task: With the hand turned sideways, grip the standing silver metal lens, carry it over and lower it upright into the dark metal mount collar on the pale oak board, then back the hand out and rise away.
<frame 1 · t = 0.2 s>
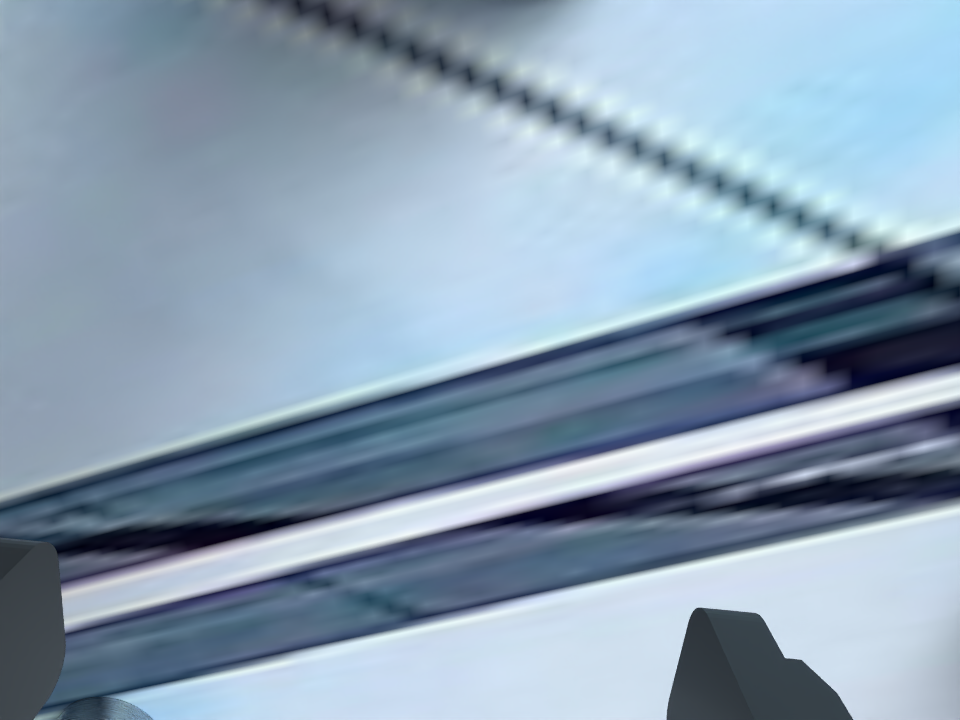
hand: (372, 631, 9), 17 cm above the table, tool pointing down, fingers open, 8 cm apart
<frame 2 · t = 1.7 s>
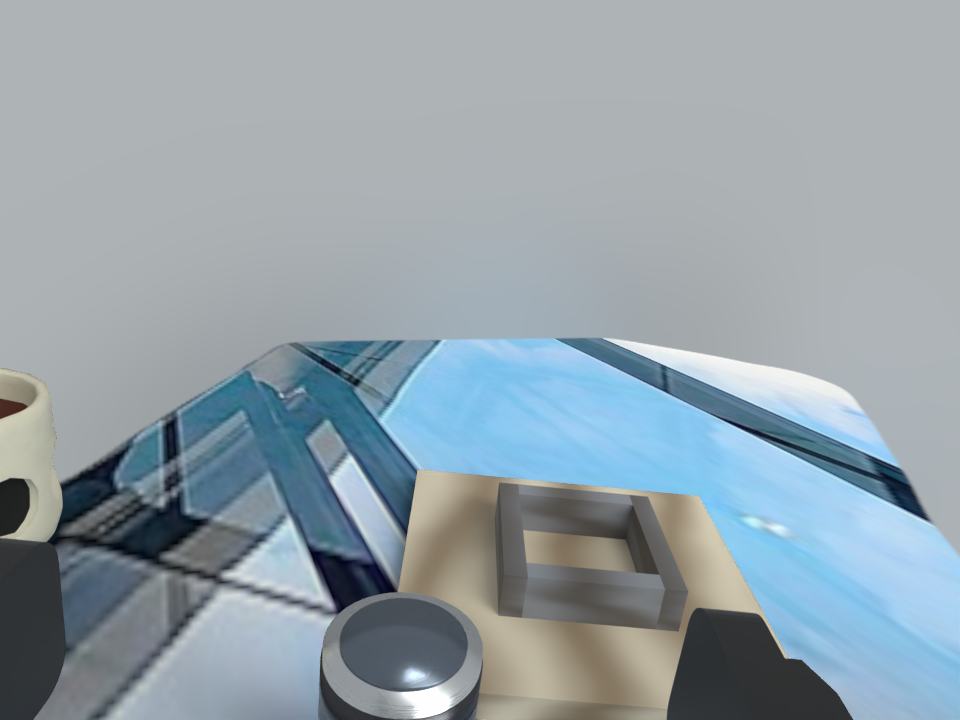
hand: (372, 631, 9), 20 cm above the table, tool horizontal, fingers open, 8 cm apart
mount board: (573, 590, 43), on the table
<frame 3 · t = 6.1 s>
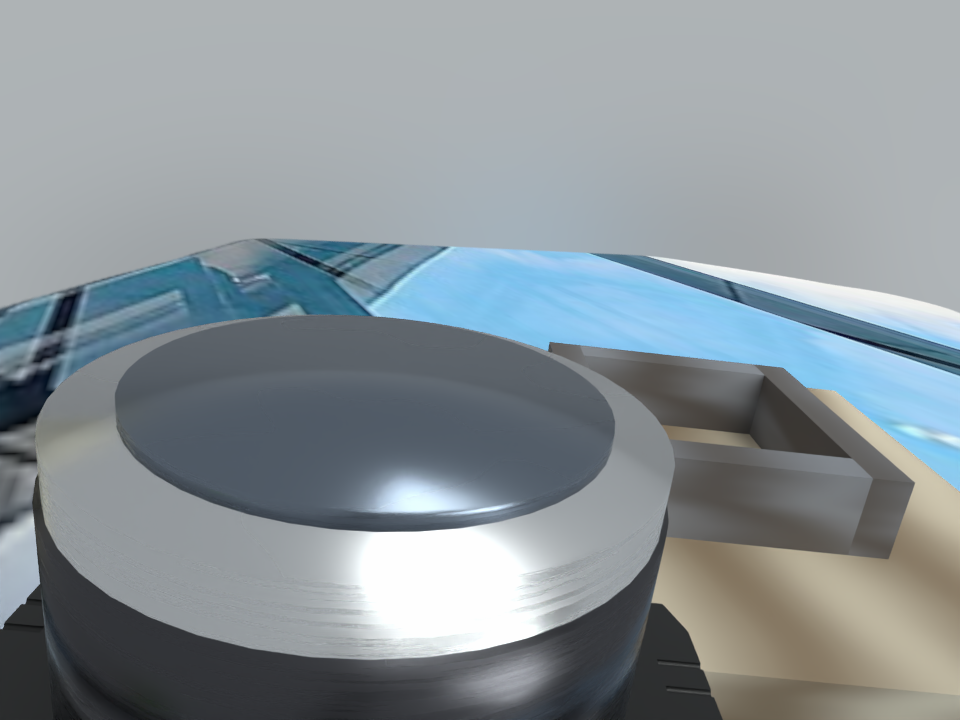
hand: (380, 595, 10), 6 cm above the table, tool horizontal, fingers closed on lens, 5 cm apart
mount board: (676, 504, 26), on the table
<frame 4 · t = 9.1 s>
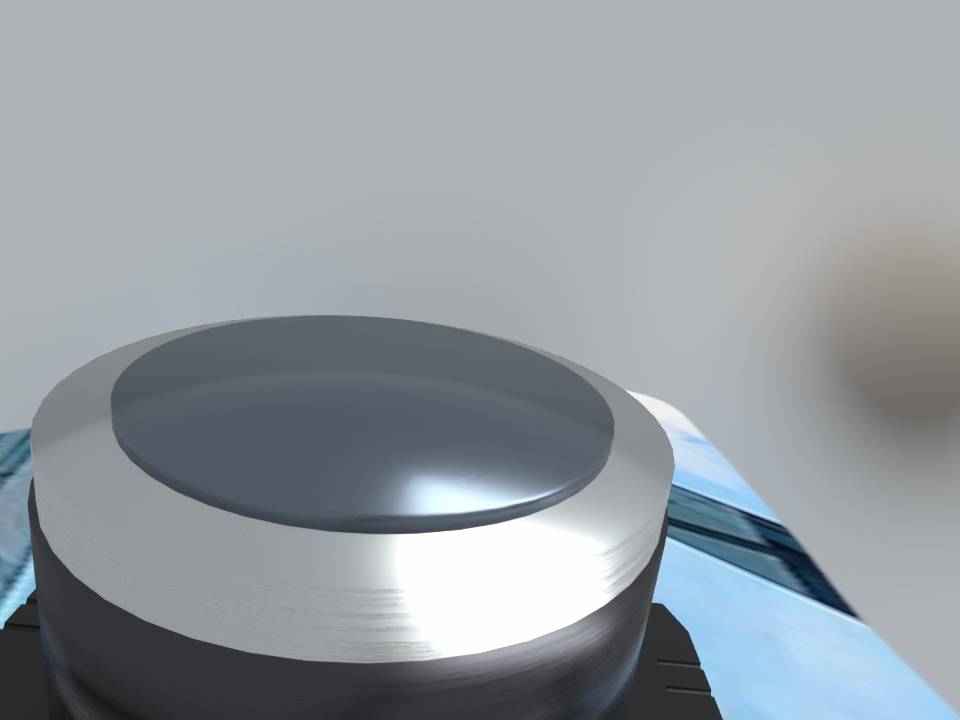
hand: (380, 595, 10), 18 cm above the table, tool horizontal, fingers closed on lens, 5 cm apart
when the fingers open (9 cm above the table, at t = 12.2 s): lens drops 1 cm, resting on mount board.
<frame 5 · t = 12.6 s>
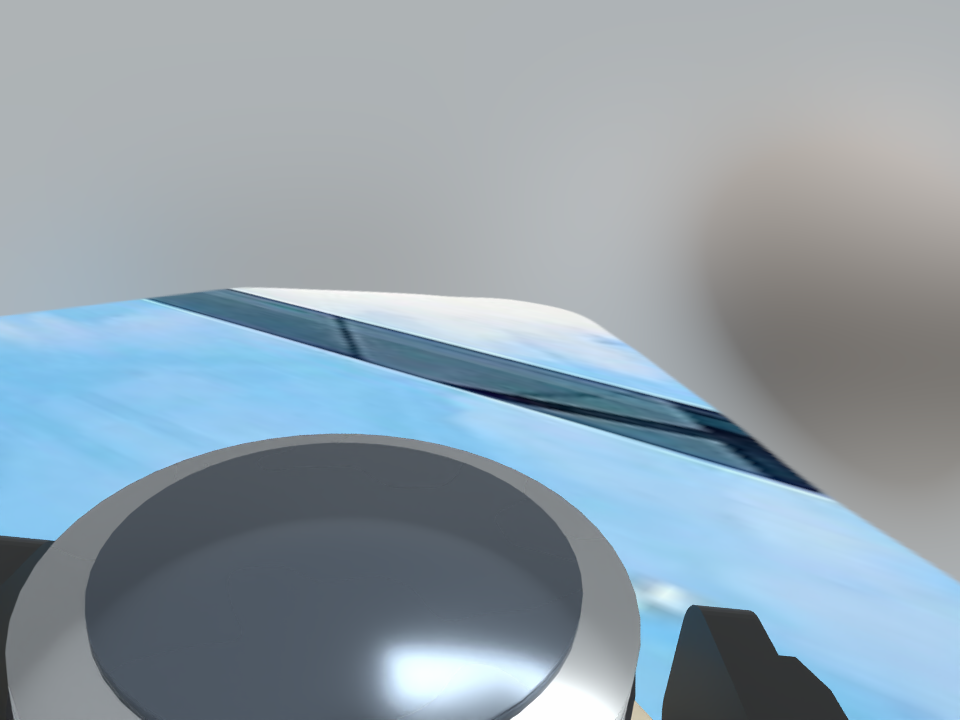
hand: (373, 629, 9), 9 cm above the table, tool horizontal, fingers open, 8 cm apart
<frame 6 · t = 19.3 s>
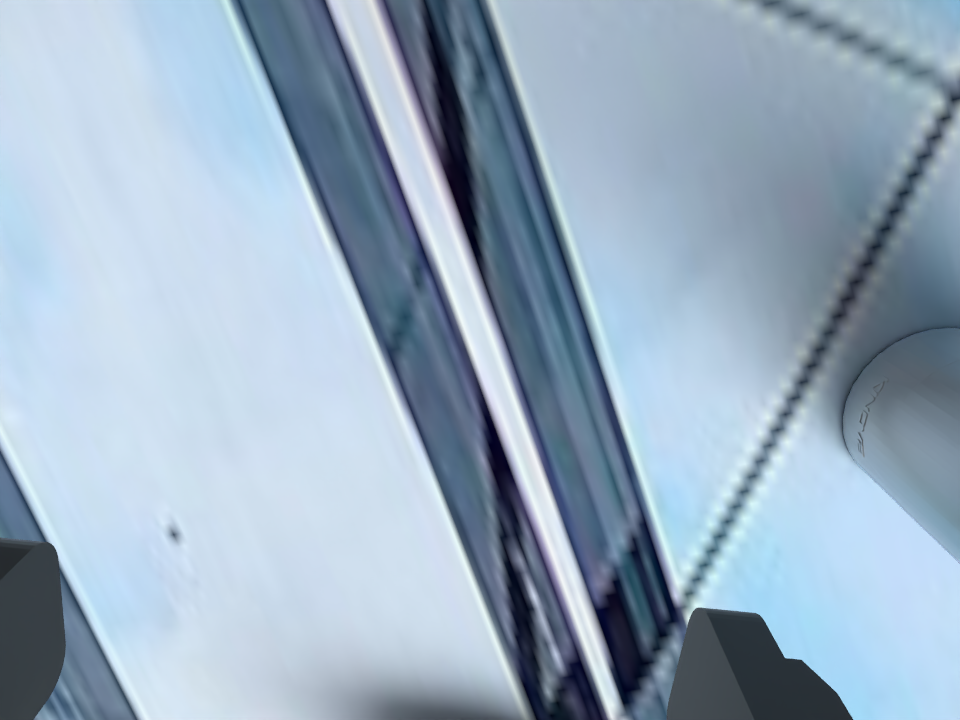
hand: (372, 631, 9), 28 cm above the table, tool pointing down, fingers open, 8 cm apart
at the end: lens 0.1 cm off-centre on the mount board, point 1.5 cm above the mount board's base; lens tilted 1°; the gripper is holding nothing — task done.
